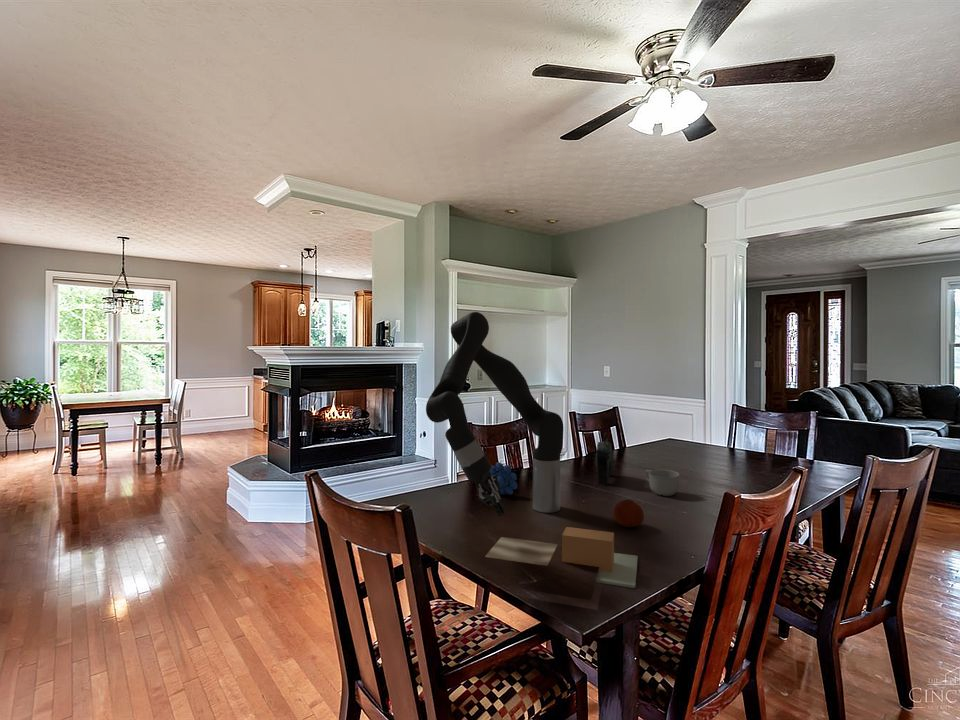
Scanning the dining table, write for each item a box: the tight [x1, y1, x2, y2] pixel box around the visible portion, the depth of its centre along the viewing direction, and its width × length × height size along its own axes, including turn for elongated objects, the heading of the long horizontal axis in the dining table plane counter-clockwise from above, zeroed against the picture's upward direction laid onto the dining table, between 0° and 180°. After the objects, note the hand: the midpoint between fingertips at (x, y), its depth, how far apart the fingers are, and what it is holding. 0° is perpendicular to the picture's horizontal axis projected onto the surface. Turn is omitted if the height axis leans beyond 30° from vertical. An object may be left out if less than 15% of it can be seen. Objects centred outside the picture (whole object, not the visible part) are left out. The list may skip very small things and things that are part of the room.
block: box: [561, 526, 615, 572], centre depth 123 cm, size 6×12×8 cm, turn 70°
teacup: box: [643, 468, 681, 497], centre depth 186 cm, size 14×11×8 cm
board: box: [485, 536, 559, 567], centre depth 129 cm, size 14×16×2 cm
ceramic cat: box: [595, 432, 614, 486], centre depth 204 cm, size 20×6×20 cm, turn 158°
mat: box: [595, 552, 639, 589], centre depth 123 cm, size 17×20×1 cm
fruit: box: [612, 499, 645, 528], centre depth 151 cm, size 9×9×8 cm
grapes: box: [489, 461, 518, 495], centre depth 183 cm, size 12×7×12 cm, turn 70°
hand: (502, 514), depth 136 cm, fingers closed
